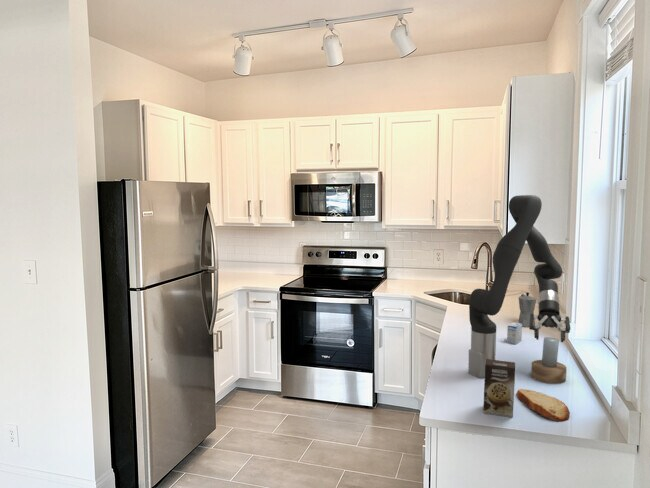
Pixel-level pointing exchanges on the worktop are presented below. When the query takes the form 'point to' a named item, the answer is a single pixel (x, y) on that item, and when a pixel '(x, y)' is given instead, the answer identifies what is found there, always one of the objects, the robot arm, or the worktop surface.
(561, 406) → the bread slice
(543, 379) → the walnut round
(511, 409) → the coffee box
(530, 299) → the coffeepot
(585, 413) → the worktop surface
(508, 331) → the medicine box
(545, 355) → the dome-topped grey cylinder
